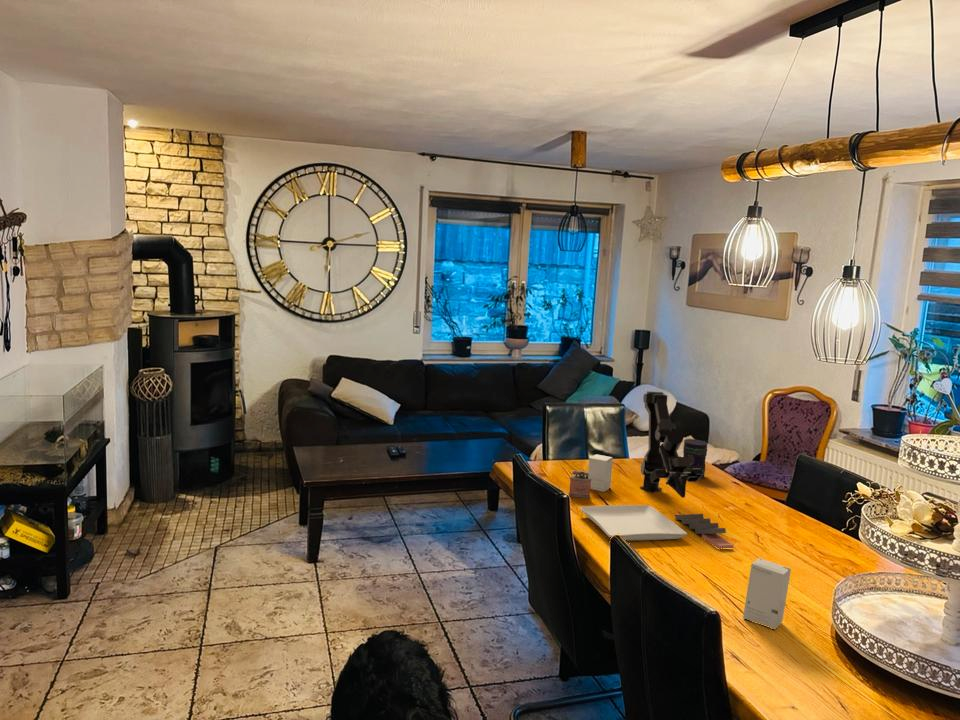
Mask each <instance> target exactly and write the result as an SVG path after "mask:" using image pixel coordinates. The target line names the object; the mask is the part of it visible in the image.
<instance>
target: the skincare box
mask: <svg viewBox="0 0 960 720" xmlns="http://www.w3.org/2000/svg"><path fill="white" fill-rule="evenodd" d="M791 571H792V569H791V568H790V567H787V566H784V565H781V564H778V563H777V562H776V563H775V562H773V561H769V560H766V559H763V558H760V557H759V558H757V559H756V560H755V561H753V562H752V563H751V566H750V572H749V577H748V578H749V579H748V583H747V584H748V585H747V591H746V596H745V601H744V602H745V603H744V610H743V615H742V618H743V620H744V619H747V620H751V621H754V622H757V623H760V624H763V625H766V626H769V627H771V628H773V629H776V628H777V627H778V626H779V625H780V624H781V622H782V623H783V619H784V614H785V609H786V608H785V607H786V603H787V595H788V591H789V590H788V589H789V583H790V578H791V577H790V576H791V573H792V572H791ZM747 620H746V621H747ZM781 625H782V624H781ZM781 625H780V626H781ZM780 626H779V627H780ZM779 627H778V628H779ZM778 628H777V629H778ZM777 629H776V630H777Z"/></svg>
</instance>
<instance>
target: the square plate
mask: <svg viewBox="0 0 960 720" xmlns="http://www.w3.org/2000/svg"><path fill="white" fill-rule="evenodd" d="M579 509H581V511H582V513H583V514H584V515H585V516H586V517H588V519H589V520H591V521H592V522H593V523H594V524H595V525H596V526H598V527H599V529H600V530H602V531H603V533H604V534H605V535H606V536H607V537H608V538H610V537H612V536H613V535H620V536H622V537H624V538H625V539H626V540H627V541H626V542H632V541H633V542H634V541H636V540H637V541H657V540H659V541H660V540H664V541H665V540H676V539H677V540H679V539H682V538H685V537H686V536H688V532H686V531H685V530H684V529H682V527H680V526H679V525H677V524H676V523H675V522H673V521H672V520H671V519H669V518H668V517H667V516H665V515H664V514H663V513H661V512H660V511H658V510H657V509H656V508H655V507H653V506H651V505H649V504H648V505H647V504H645V505H644V504H620V505H619V504H617V505H615V504H613V505H612V504H611V505H608V504H607V505H592V506H591V505H590V506H589V505H588V506H579ZM618 533H619V534H618Z"/></svg>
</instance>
